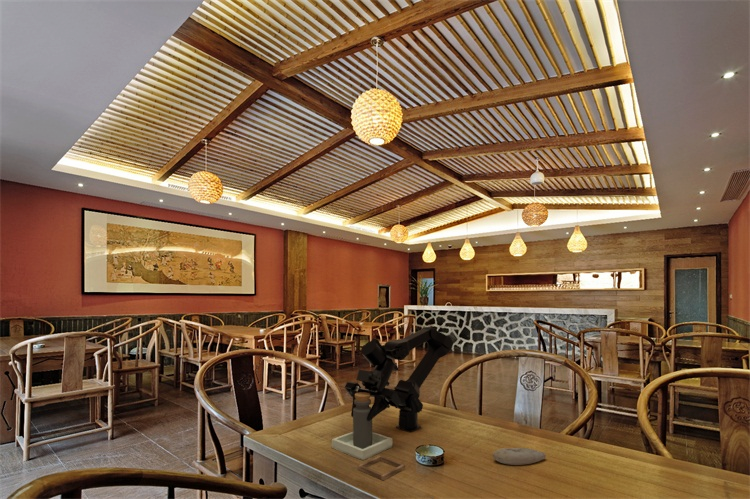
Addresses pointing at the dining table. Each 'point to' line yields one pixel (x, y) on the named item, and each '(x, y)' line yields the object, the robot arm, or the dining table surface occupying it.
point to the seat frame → (378, 475)
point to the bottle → (362, 421)
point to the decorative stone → (518, 456)
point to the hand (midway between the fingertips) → (359, 418)
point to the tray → (347, 447)
